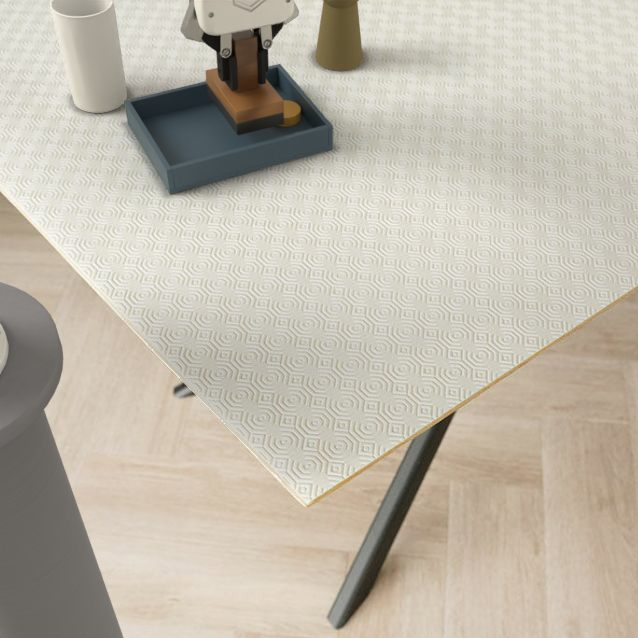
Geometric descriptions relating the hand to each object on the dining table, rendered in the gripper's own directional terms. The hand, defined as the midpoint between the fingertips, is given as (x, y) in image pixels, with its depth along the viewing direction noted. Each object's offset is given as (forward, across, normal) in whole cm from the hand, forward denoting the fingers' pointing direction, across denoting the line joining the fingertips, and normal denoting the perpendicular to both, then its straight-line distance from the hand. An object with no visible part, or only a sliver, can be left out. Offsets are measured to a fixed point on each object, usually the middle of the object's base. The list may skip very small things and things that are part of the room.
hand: (243, 80), depth 99 cm
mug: (+7, -13, +15) cm, 21 cm away
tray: (+7, -2, 0) cm, 7 cm away
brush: (+4, 0, 0) cm, 4 cm away
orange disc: (+6, +5, 0) cm, 8 cm away
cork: (+7, +17, +10) cm, 21 cm away
